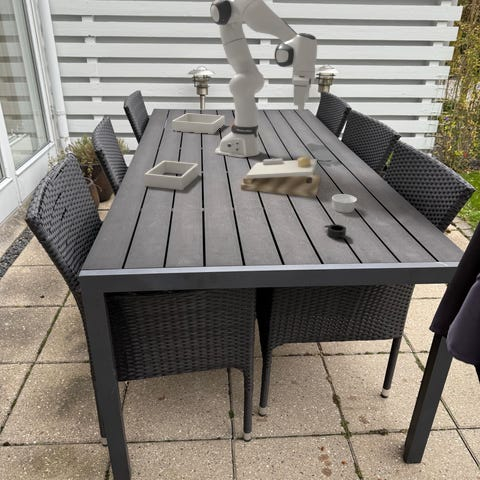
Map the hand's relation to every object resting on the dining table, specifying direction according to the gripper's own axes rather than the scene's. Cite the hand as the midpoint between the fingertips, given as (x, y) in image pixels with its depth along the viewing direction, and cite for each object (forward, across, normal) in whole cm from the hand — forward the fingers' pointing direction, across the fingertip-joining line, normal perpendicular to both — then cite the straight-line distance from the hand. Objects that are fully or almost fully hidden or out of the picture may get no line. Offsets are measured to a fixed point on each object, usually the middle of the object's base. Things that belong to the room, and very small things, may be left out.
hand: (300, 113), depth 191 cm
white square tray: (+27, -75, -70) cm, 106 cm away
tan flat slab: (+27, +12, -4) cm, 30 cm away
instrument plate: (+21, +12, -4) cm, 25 cm away
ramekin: (+27, +32, +22) cm, 48 cm away
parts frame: (+27, +21, -49) cm, 60 cm away
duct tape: (+28, +56, +21) cm, 66 cm away
